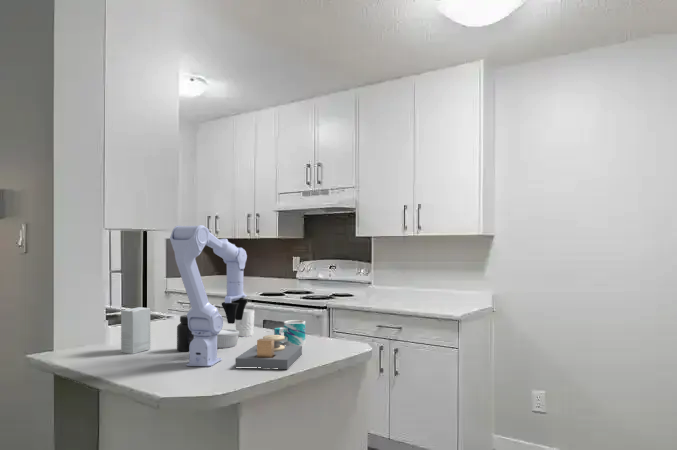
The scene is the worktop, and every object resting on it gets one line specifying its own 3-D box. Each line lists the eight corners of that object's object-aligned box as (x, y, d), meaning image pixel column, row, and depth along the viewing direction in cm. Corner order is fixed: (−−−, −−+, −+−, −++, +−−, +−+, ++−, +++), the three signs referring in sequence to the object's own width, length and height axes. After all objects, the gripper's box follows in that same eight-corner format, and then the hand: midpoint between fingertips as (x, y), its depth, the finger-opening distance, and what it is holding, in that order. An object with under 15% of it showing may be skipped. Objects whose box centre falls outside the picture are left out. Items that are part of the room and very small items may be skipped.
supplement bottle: (172, 351, 181) (172, 316, 181) (186, 347, 187) (186, 314, 187) (187, 352, 177) (187, 317, 178) (201, 349, 183) (201, 315, 184)
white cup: (231, 336, 207) (231, 311, 208) (240, 333, 215) (240, 308, 215) (249, 337, 205) (249, 312, 205) (257, 334, 213) (257, 309, 213)
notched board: (287, 369, 153) (287, 346, 153) (235, 368, 156) (235, 344, 156) (301, 355, 173) (301, 334, 173) (255, 353, 175) (255, 333, 175)
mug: (309, 344, 190) (309, 321, 191) (281, 349, 183) (281, 325, 183) (297, 341, 197) (297, 319, 197) (270, 345, 190) (270, 322, 190)
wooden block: (271, 367, 156) (271, 340, 157) (257, 367, 157) (257, 340, 157) (274, 365, 159) (274, 338, 160) (260, 364, 160) (260, 338, 160)
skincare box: (139, 348, 186) (139, 306, 186) (151, 349, 183) (151, 307, 183) (119, 352, 178) (120, 309, 179) (132, 354, 175) (132, 310, 176)
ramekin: (244, 343, 193) (244, 329, 194) (230, 349, 183) (230, 334, 183) (217, 342, 196) (217, 328, 197) (201, 348, 186) (201, 333, 186)
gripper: (239, 284, 171) (239, 325, 171) (252, 280, 186) (252, 318, 185) (218, 283, 172) (218, 324, 172) (233, 280, 187) (233, 318, 186)
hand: (235, 321), depth 179 cm, fingers open, 7 cm apart
